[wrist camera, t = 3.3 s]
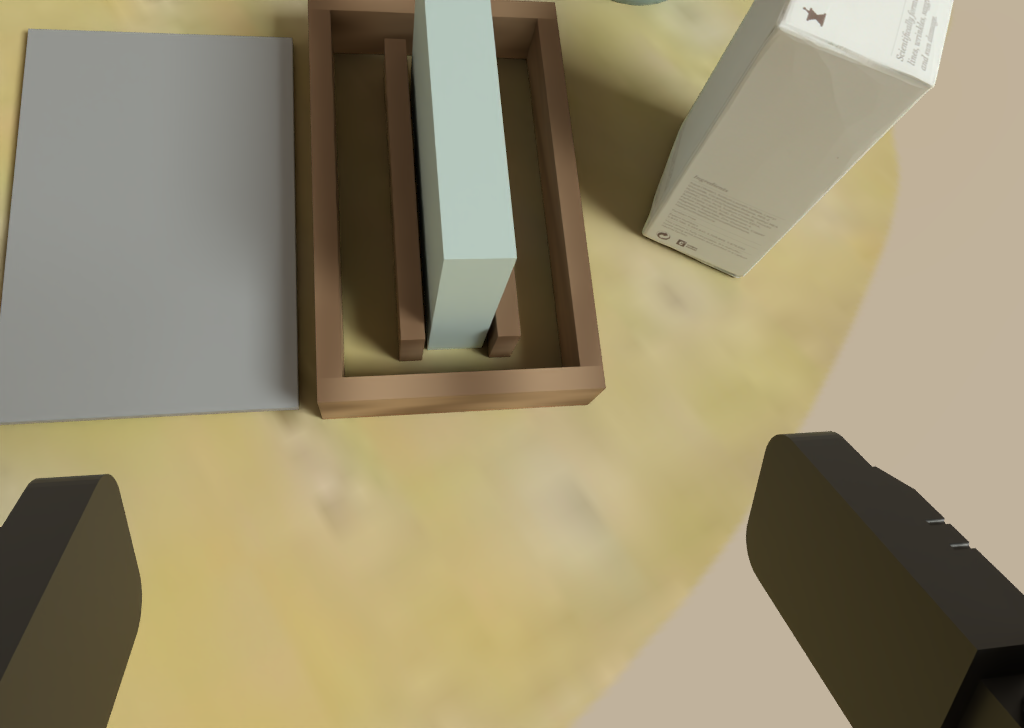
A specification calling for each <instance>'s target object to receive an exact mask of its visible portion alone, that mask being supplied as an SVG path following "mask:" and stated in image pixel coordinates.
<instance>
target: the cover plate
mask: <svg viewBox="0 0 1024 728" xmlns="http://www.w3.org/2000/svg"><path fill="white" fill-rule="evenodd" d="M410 92H411V107H412V122H413V138H414V153H415V168H416V183H417V199H418V214H419V229H420V244H421V259H422V275H423V290H424V305H425V320H426V336H427V350H437V349H463V348H481V347H482V345H483V342H484V340H485V337H486V335H487V332H488V330H489V327H490V325H491V322H492V320H493V317H494V315H495V312H496V310H497V307H498V305H499V302H500V300H501V297H502V294H503V292H504V289H505V287H506V284H507V282H508V279H509V277H510V274H511V272H512V269H513V267H514V264H515V262H516V259H517V253H516V244H515V234H514V224H513V215H512V205H511V195H510V186H509V176H508V166H507V157H506V147H505V137H504V128H503V118H502V108H501V99H500V89H499V79H498V70H497V60H496V50H495V41H494V31H493V21H492V12H491V2H490V0H415V13H414V31H413V49H412V67H411V85H410Z"/></svg>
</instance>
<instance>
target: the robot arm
mask: <svg viewBox="0 0 1024 728" xmlns="http://www.w3.org/2000/svg"><path fill="white" fill-rule="evenodd" d="M746 543H747V551H748V556H749V560H750V563H751V566H752V568H753V571H754V573H755V574H756V576H757V577H758V579H759V581H760V583H761V584H762V586H763V587H764V589H765V590H766V592H767V594H768V595H769V597H770V598H771V600H772V601H773V603H774V604H775V606H776V608H777V609H778V611H779V612H780V614H781V616H782V617H783V619H784V620H785V622H786V623H787V625H788V627H789V628H790V630H791V631H792V633H793V634H794V636H795V637H796V639H797V641H798V642H799V644H800V645H801V647H802V649H803V650H804V652H805V653H806V655H807V656H808V658H809V660H810V661H811V663H812V664H813V666H814V667H815V669H816V671H817V672H818V674H819V675H820V677H821V678H822V680H823V682H824V683H825V685H826V686H827V688H828V689H829V691H830V693H831V694H832V696H833V697H834V699H835V700H836V702H837V704H838V705H839V707H840V708H841V710H842V711H843V713H844V715H845V716H846V718H847V719H848V721H849V722H850V724H851V726H852V727H853V728H1024V595H1023V594H1022V593H1021V592H1020V591H1019V590H1018V589H1017V588H1016V587H1015V586H1014V585H1013V584H1012V583H1011V582H1010V581H1009V580H1008V579H1007V578H1006V577H1005V576H1004V575H1003V574H1002V573H1000V572H999V571H998V570H997V569H996V568H995V567H994V566H993V565H992V564H991V563H990V562H989V561H988V560H987V559H986V558H985V557H984V556H983V555H982V554H981V553H980V552H979V551H978V550H977V549H975V548H973V549H971V548H970V547H969V542H968V541H967V540H966V539H965V538H964V537H963V536H962V535H961V534H960V533H959V532H958V531H957V530H956V529H955V528H954V527H953V526H952V525H951V524H945V522H944V517H943V516H942V515H941V514H939V512H937V511H936V510H935V509H934V508H933V507H932V506H931V505H930V504H929V503H928V502H927V501H926V500H925V499H924V498H923V497H922V496H921V495H920V494H919V493H918V492H917V491H916V490H915V489H913V488H911V487H909V486H908V485H906V484H904V483H903V482H901V481H899V480H898V479H896V478H894V477H893V476H891V475H889V474H887V473H886V472H884V471H882V470H880V469H879V468H877V467H872V466H871V465H870V464H869V463H868V462H867V461H866V460H865V459H864V458H863V457H862V456H861V455H860V454H859V453H858V452H857V451H856V450H855V449H854V448H853V447H852V446H851V445H850V444H849V443H848V442H847V441H846V440H845V439H844V438H843V437H842V436H840V435H839V434H837V433H835V432H832V431H830V432H829V431H828V432H812V433H796V434H780V435H776V436H774V437H773V438H772V439H771V440H770V441H769V443H768V445H767V448H766V451H765V455H764V459H763V463H762V467H761V471H760V475H759V479H758V483H757V487H756V492H755V496H754V500H753V504H752V508H751V512H750V516H749V520H748V524H747V531H746ZM141 605H142V589H141V579H140V573H139V569H138V565H137V561H136V557H135V553H134V549H133V544H132V540H131V536H130V532H129V528H128V524H127V520H126V515H125V511H124V507H123V503H122V499H121V495H120V491H119V487H118V485H117V482H116V481H115V479H114V478H113V477H112V476H111V475H109V474H103V475H87V476H71V477H54V478H38V479H35V480H33V481H31V482H30V483H29V484H28V486H27V487H26V489H25V490H24V492H23V493H22V495H21V497H20V498H19V500H18V501H17V503H16V505H15V506H14V508H13V510H12V511H11V513H10V514H9V516H8V518H7V519H6V521H5V522H4V524H3V526H2V527H0V728H106V727H107V724H108V721H109V718H110V714H111V711H112V708H113V705H114V702H115V699H116V696H117V693H118V690H119V687H120V684H121V681H122V678H123V675H124V671H125V668H126V665H127V662H128V659H129V656H130V653H131V650H132V647H133V644H134V641H135V638H136V635H137V631H138V627H139V622H140V616H141Z"/></svg>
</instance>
